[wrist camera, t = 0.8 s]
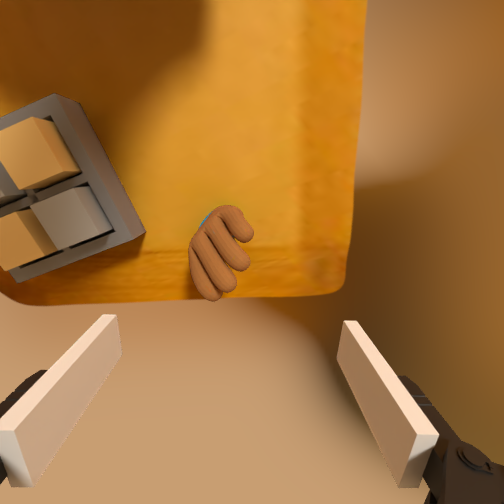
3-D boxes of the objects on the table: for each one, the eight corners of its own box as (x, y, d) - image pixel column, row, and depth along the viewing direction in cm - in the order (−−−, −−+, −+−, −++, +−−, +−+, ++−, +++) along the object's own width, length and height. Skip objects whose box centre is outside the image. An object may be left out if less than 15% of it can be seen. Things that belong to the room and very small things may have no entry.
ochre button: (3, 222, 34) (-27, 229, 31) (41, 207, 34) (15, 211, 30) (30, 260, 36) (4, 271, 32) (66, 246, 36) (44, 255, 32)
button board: (-38, 155, 34) (-79, 153, 30) (79, 103, 33) (54, 92, 29) (42, 271, 40) (17, 283, 36) (146, 231, 38) (133, 239, 34)
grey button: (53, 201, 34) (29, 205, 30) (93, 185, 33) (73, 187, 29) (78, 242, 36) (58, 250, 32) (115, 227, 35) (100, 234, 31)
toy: (214, 277, 41) (197, 334, 27) (179, 251, 39) (141, 297, 25) (262, 221, 38) (271, 250, 24) (226, 191, 37) (213, 204, 22)
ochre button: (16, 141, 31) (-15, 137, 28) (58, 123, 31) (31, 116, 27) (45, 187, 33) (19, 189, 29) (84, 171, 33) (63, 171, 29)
